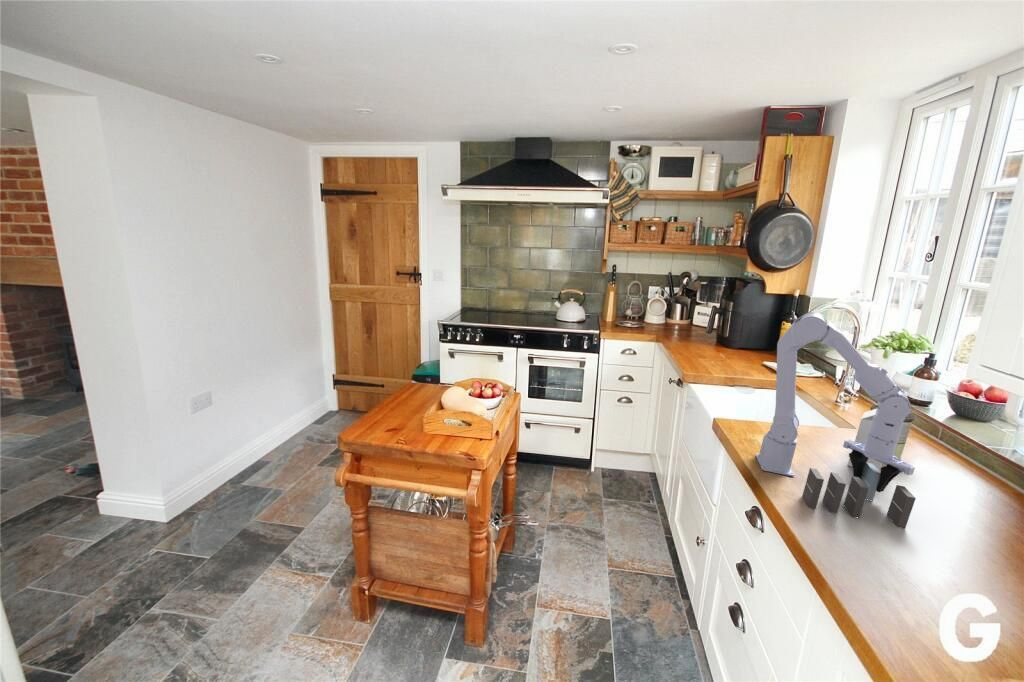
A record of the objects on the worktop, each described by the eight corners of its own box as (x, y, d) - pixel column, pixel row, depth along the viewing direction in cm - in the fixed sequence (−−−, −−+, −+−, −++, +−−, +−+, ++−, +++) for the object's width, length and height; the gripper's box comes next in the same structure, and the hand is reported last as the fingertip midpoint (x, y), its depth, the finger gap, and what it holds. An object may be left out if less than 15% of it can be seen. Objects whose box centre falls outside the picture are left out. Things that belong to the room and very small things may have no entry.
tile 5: (897, 526, 101) (907, 496, 99) (886, 514, 106) (896, 484, 104) (905, 528, 101) (915, 498, 99) (894, 515, 106) (904, 486, 104)
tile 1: (808, 507, 106) (816, 478, 104) (802, 496, 111) (809, 467, 109) (815, 509, 106) (824, 479, 104) (809, 497, 111) (817, 469, 109)
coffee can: (851, 446, 141) (863, 405, 137) (873, 443, 144) (885, 404, 141) (886, 463, 132) (900, 420, 128) (908, 460, 135) (923, 417, 131)
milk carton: (847, 466, 128) (865, 405, 123) (850, 458, 133) (867, 399, 128) (878, 476, 124) (898, 414, 119) (880, 467, 129) (899, 407, 124)
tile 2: (829, 512, 105) (838, 482, 103) (822, 500, 110) (830, 471, 108) (837, 513, 105) (846, 484, 103) (829, 501, 109) (838, 473, 107)
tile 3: (851, 516, 104) (861, 487, 102) (843, 504, 109) (852, 476, 107) (859, 518, 104) (868, 488, 102) (850, 506, 108) (859, 477, 106)
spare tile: (865, 500, 111) (874, 471, 109) (857, 489, 116) (865, 462, 114) (872, 501, 111) (881, 473, 109) (864, 490, 116) (872, 463, 114)
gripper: (842, 426, 114) (828, 473, 117) (910, 453, 101) (892, 505, 105) (857, 423, 117) (844, 468, 120) (925, 448, 104) (908, 499, 108)
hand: (867, 485), depth 113 cm, fingers closed on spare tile, 5 cm apart
